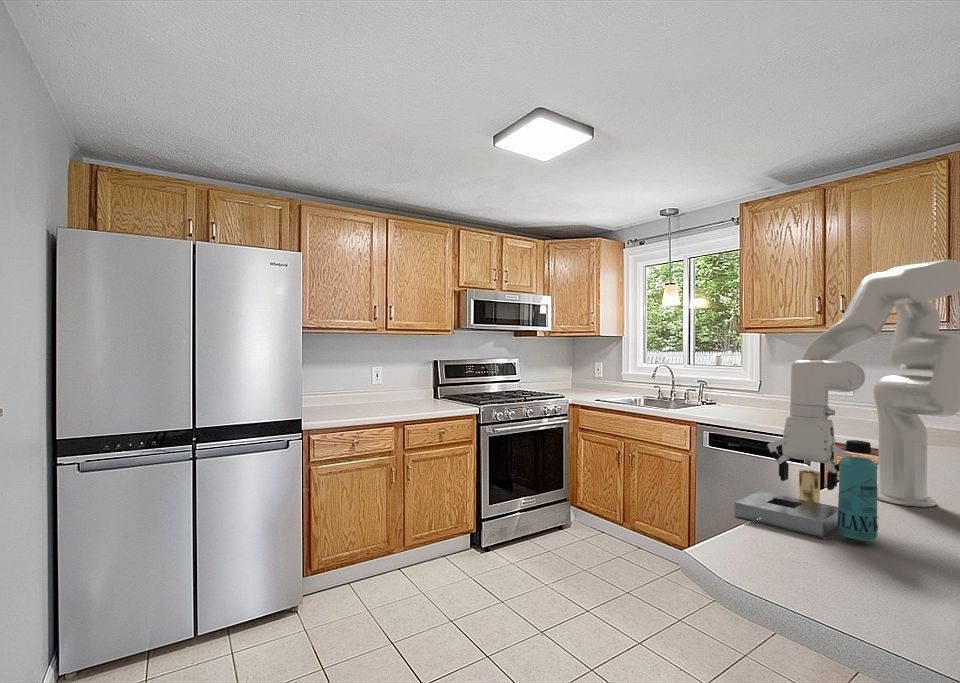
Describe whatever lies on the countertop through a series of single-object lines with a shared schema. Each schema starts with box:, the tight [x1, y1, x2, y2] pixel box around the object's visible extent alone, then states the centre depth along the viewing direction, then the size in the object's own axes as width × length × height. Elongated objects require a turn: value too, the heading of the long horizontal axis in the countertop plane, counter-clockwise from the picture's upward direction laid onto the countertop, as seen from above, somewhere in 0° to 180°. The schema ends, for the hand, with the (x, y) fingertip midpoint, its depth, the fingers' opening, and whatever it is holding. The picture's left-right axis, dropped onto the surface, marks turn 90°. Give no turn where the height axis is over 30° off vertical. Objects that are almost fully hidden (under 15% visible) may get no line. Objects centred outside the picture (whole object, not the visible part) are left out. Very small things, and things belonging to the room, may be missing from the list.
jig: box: [734, 490, 839, 540], centre depth 113 cm, size 14×17×4 cm
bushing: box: [798, 468, 821, 503], centre depth 122 cm, size 4×4×9 cm
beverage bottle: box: [837, 439, 879, 541], centre depth 101 cm, size 6×7×20 cm
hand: (806, 484), depth 122 cm, fingers open, 9 cm apart
